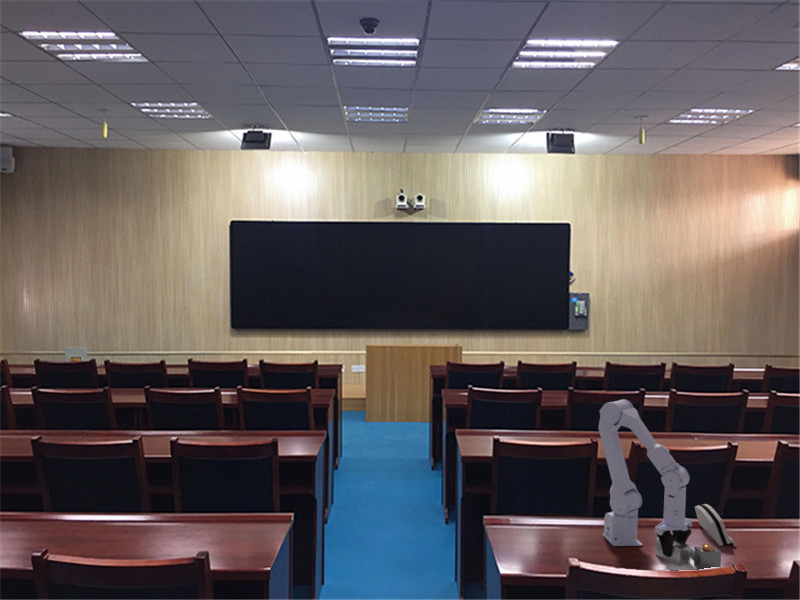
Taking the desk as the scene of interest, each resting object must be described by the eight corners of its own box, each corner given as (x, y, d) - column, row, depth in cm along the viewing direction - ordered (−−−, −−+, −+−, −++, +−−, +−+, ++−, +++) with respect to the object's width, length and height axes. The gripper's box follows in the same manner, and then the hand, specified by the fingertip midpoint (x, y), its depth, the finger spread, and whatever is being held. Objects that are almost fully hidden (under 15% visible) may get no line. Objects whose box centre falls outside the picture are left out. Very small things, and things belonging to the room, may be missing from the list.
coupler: (700, 570, 165) (701, 548, 165) (679, 553, 175) (680, 532, 175) (720, 570, 165) (721, 548, 165) (698, 553, 176) (699, 532, 176)
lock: (655, 554, 174) (656, 538, 174) (665, 551, 177) (666, 535, 177) (679, 566, 167) (680, 549, 167) (689, 562, 170) (690, 545, 170)
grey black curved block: (736, 546, 181) (726, 516, 182) (721, 550, 182) (710, 520, 182) (714, 525, 198) (705, 497, 198) (700, 528, 198) (691, 500, 199)
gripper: (670, 517, 165) (668, 564, 165) (702, 509, 172) (700, 554, 172) (649, 508, 171) (647, 554, 171) (680, 501, 178) (678, 544, 178)
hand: (672, 553), depth 172 cm, fingers closed on lock, 5 cm apart
